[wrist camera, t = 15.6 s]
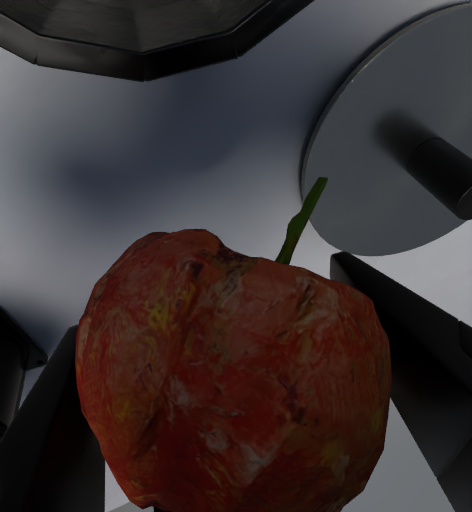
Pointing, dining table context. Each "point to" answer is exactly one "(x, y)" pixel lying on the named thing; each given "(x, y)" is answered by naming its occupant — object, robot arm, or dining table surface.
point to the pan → (138, 33)
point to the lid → (398, 142)
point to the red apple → (232, 377)
